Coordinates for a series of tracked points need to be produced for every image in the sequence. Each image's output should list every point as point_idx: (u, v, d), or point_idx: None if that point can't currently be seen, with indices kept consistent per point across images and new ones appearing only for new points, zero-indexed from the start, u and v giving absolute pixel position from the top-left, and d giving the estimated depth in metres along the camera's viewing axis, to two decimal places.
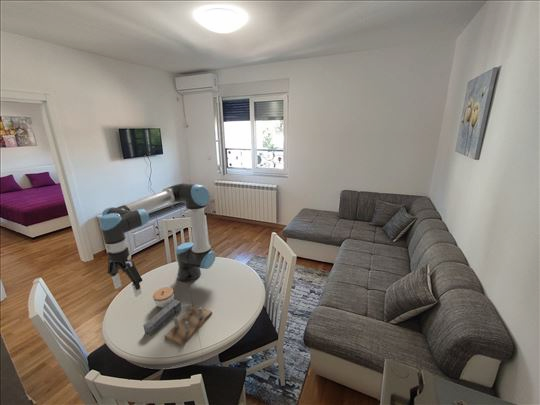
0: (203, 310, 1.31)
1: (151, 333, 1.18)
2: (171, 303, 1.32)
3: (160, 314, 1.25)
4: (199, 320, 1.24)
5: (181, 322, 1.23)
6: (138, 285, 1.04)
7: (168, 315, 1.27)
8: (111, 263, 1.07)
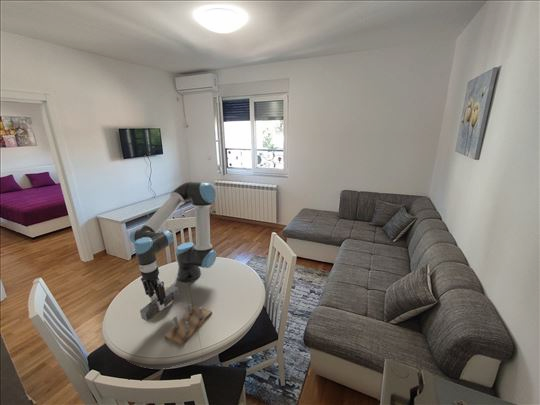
0: (203, 310, 1.31)
1: (148, 318, 1.15)
2: (168, 289, 1.29)
3: None
4: (199, 320, 1.24)
5: (181, 322, 1.23)
6: (162, 301, 1.20)
7: (165, 300, 1.24)
8: (145, 283, 1.20)
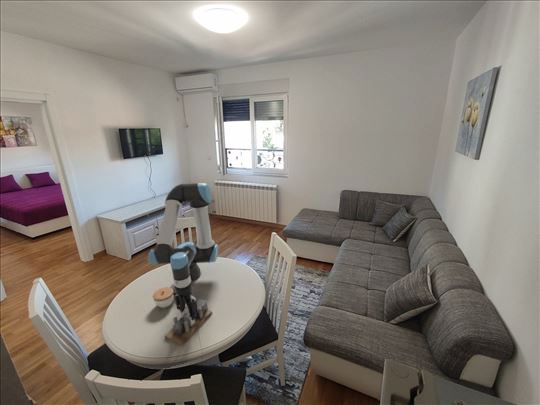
0: None
1: (180, 334, 1.15)
2: (198, 303, 1.29)
3: (188, 314, 1.22)
4: (199, 320, 1.24)
5: None
6: (194, 316, 1.20)
7: (195, 315, 1.24)
8: (177, 298, 1.20)
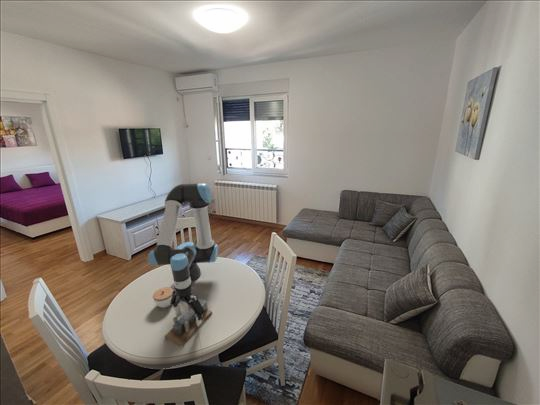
0: None
1: (180, 334, 1.15)
2: None
3: (188, 314, 1.22)
4: None
5: None
6: (200, 316, 1.18)
7: None
8: (175, 296, 1.21)
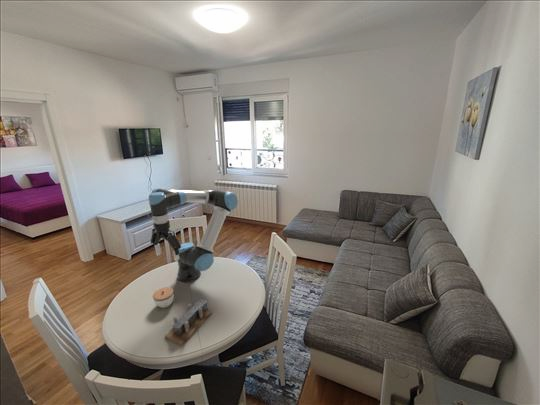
0: None
1: (180, 334, 1.15)
2: (198, 303, 1.29)
3: (188, 314, 1.22)
4: (199, 320, 1.24)
5: None
6: (177, 251, 1.28)
7: (195, 315, 1.24)
8: (154, 234, 1.31)
